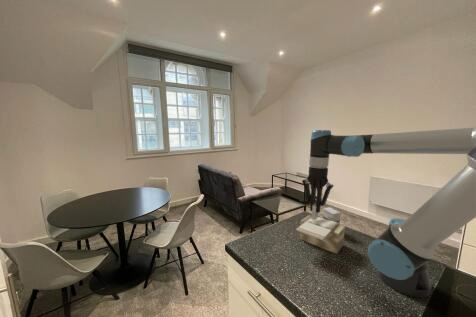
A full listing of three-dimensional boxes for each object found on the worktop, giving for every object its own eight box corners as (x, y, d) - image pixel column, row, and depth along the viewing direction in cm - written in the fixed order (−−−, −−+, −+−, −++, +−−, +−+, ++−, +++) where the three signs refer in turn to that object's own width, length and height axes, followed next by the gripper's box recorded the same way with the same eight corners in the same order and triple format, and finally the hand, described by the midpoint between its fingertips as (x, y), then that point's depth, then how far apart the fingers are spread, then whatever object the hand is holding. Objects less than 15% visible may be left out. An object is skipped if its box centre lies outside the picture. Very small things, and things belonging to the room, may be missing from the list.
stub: (331, 231, 89) (331, 229, 89) (322, 240, 82) (322, 238, 82) (305, 223, 97) (305, 221, 97) (296, 230, 90) (296, 228, 90)
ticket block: (343, 244, 96) (345, 224, 94) (336, 254, 89) (338, 231, 87) (308, 231, 108) (309, 213, 107) (299, 239, 101) (300, 219, 99)
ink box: (321, 226, 114) (322, 207, 112) (328, 225, 115) (329, 206, 114) (332, 234, 106) (333, 213, 104) (339, 232, 107) (341, 212, 106)
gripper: (337, 167, 81) (332, 220, 85) (307, 163, 90) (304, 211, 94) (331, 170, 76) (326, 226, 79) (300, 165, 85) (296, 216, 88)
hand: (314, 218), depth 87 cm, fingers closed
